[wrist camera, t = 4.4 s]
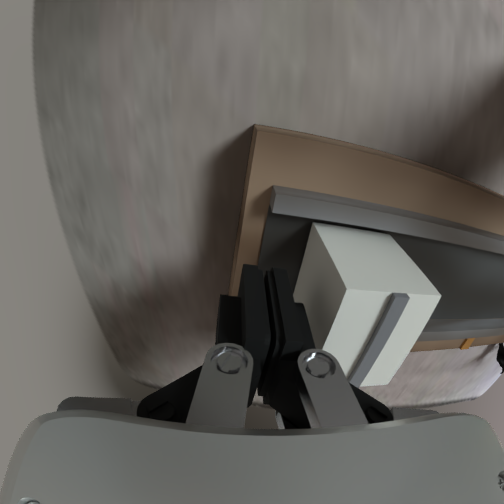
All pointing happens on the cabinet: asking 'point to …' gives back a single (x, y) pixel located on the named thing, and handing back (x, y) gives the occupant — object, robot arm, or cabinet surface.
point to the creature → (501, 356)
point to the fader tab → (363, 300)
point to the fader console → (378, 224)
